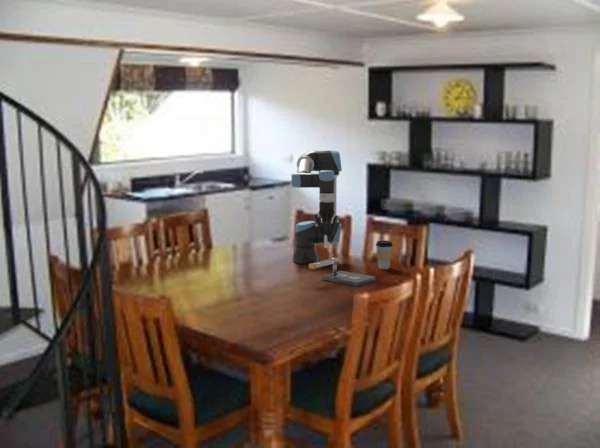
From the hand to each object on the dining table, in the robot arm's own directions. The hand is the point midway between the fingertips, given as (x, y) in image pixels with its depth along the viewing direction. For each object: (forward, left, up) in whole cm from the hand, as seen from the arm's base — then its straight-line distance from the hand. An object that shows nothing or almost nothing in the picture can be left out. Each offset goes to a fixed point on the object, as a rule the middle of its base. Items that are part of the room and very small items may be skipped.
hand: (326, 247), depth 335 cm
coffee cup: (+5, +46, -18) cm, 50 cm away
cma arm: (-3, +2, -10) cm, 11 cm away
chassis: (+6, +11, -18) cm, 22 cm away
